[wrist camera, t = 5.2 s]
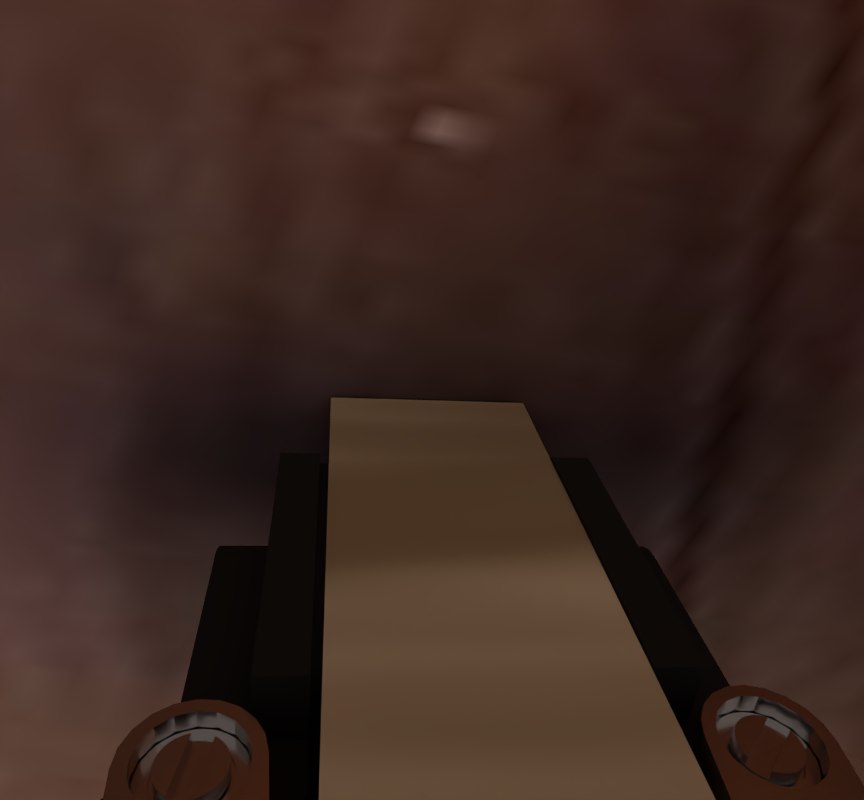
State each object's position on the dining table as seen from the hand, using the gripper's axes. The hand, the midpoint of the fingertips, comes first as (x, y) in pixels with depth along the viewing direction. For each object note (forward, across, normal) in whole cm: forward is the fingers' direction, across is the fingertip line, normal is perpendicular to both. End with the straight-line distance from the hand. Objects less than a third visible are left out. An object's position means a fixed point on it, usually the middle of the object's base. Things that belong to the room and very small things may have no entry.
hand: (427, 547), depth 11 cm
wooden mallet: (+2, 0, +8) cm, 8 cm away
